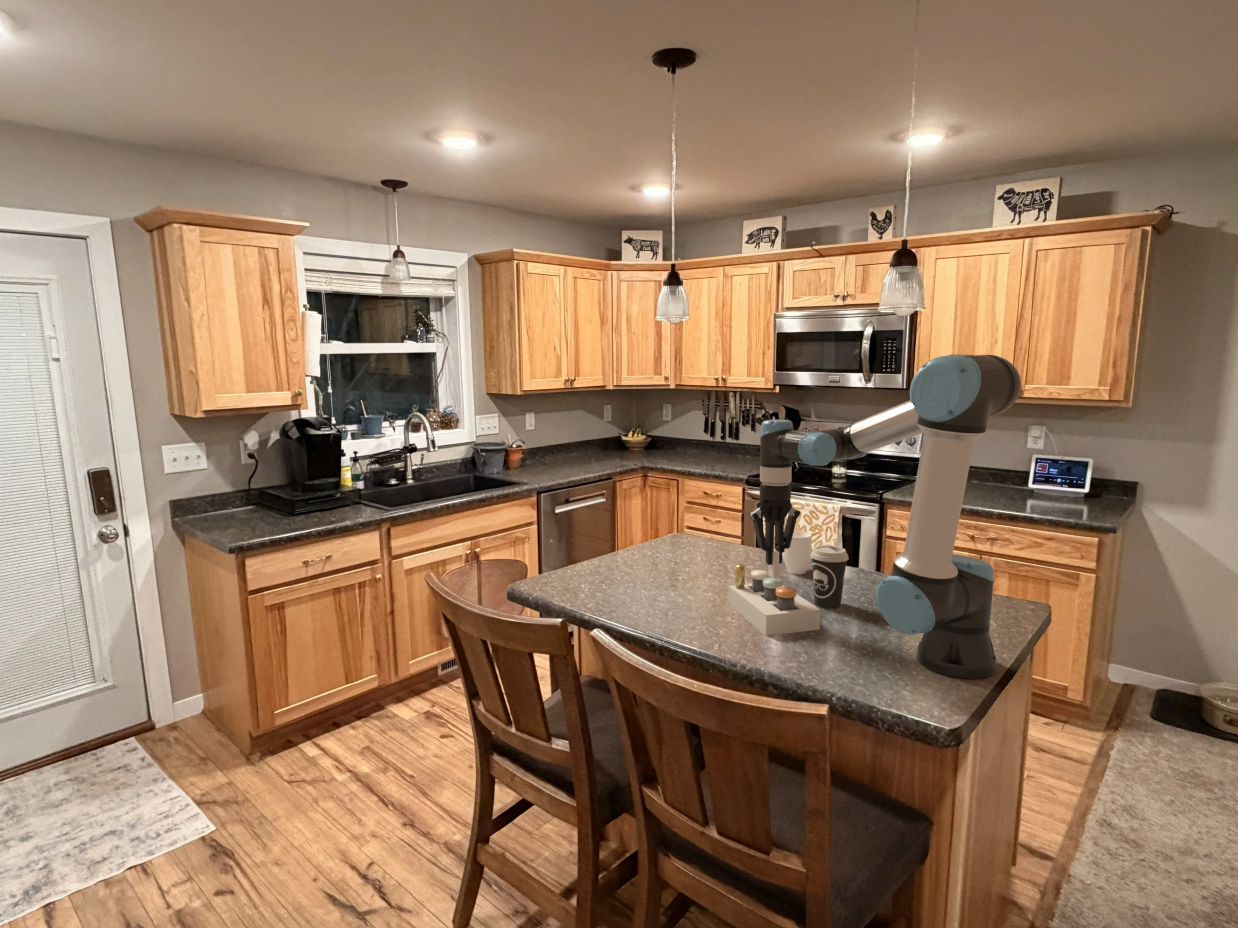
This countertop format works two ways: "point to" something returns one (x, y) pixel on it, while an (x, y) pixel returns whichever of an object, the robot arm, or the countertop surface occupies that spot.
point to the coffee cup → (828, 575)
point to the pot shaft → (740, 576)
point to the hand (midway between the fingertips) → (773, 576)
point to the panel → (774, 612)
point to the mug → (798, 553)
